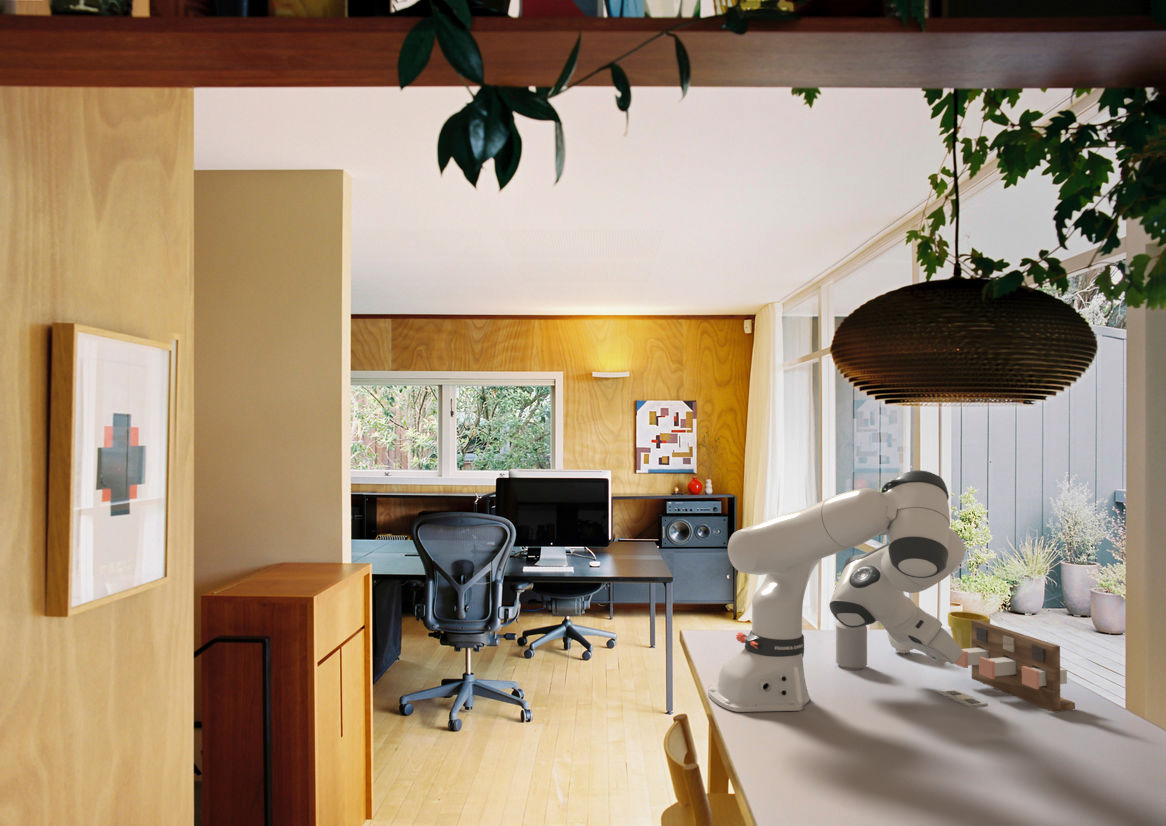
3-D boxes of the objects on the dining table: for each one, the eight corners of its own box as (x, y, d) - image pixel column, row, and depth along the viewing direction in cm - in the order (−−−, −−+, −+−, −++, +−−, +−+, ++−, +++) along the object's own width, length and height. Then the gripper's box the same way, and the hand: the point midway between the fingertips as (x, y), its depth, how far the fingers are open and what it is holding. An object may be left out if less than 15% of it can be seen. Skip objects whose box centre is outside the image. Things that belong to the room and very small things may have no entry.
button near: (1036, 689, 165) (1036, 671, 165) (1021, 683, 168) (1021, 666, 168) (1068, 685, 167) (1068, 668, 167) (1053, 680, 171) (1053, 663, 171)
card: (968, 707, 166) (968, 704, 166) (939, 693, 175) (939, 690, 175) (987, 705, 168) (987, 702, 168) (957, 691, 176) (957, 689, 176)
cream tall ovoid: (881, 649, 210) (881, 584, 210) (905, 647, 212) (905, 582, 212) (899, 657, 202) (899, 589, 203) (924, 656, 204) (924, 588, 205)
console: (1051, 712, 164) (1051, 646, 164) (970, 678, 186) (970, 620, 186) (1075, 709, 165) (1074, 644, 166) (991, 676, 187) (991, 619, 188)
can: (862, 662, 198) (862, 616, 198) (870, 671, 191) (870, 623, 191) (833, 661, 199) (833, 615, 199) (839, 670, 191) (839, 622, 192)
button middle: (991, 679, 171) (991, 662, 171) (978, 673, 175) (978, 657, 175) (1023, 675, 174) (1023, 659, 174) (1010, 670, 177) (1010, 654, 177)
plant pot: (984, 647, 213) (983, 612, 213) (995, 657, 203) (994, 621, 203) (944, 644, 215) (943, 609, 216) (953, 655, 205) (952, 618, 206)
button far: (965, 668, 179) (965, 651, 179) (953, 663, 183) (953, 647, 183) (995, 665, 181) (995, 649, 181) (983, 660, 185) (983, 644, 185)
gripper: (868, 621, 186) (903, 658, 188) (927, 643, 166) (965, 684, 168) (884, 602, 187) (918, 639, 189) (944, 621, 167) (981, 662, 170)
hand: (941, 660), depth 179 cm, fingers closed
